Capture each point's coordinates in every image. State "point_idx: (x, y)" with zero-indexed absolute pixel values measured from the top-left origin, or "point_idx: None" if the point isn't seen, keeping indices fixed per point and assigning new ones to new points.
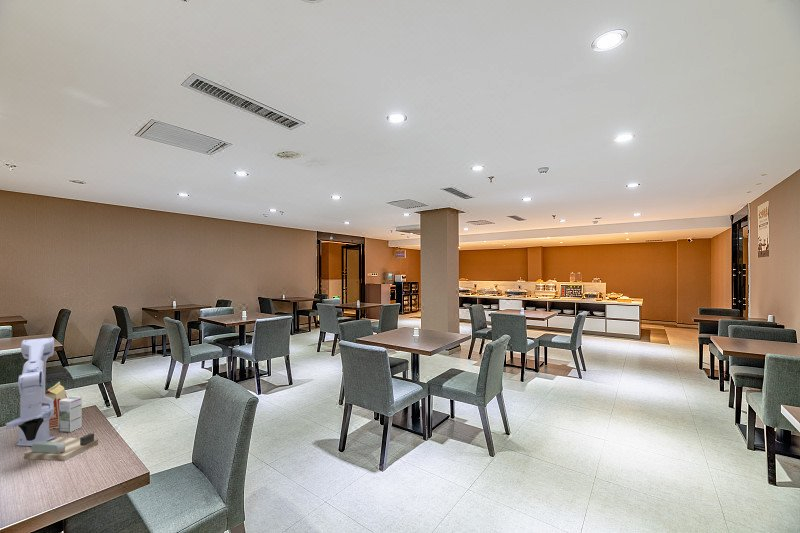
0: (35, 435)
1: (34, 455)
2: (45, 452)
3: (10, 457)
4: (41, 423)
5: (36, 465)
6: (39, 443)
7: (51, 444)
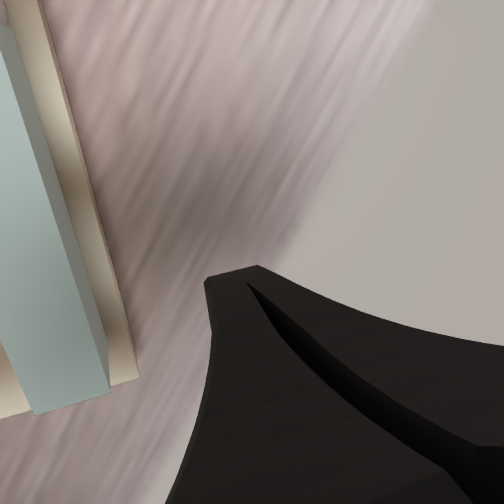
0: (228, 294)
1: (113, 275)
2: None
3: (158, 438)
4: (200, 462)
5: (180, 98)
6: (68, 337)
7: (12, 151)
